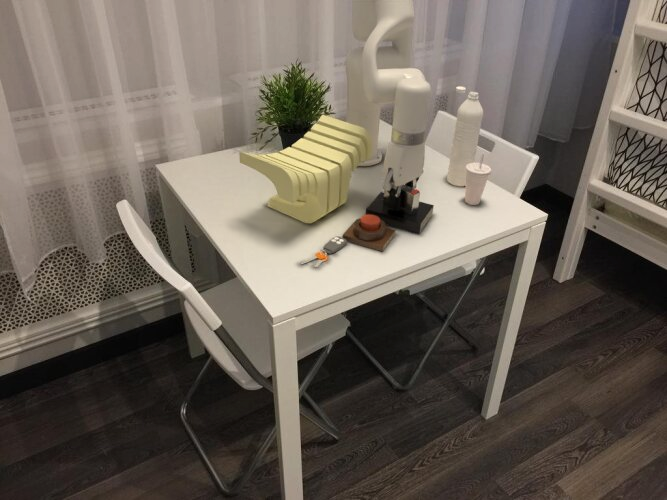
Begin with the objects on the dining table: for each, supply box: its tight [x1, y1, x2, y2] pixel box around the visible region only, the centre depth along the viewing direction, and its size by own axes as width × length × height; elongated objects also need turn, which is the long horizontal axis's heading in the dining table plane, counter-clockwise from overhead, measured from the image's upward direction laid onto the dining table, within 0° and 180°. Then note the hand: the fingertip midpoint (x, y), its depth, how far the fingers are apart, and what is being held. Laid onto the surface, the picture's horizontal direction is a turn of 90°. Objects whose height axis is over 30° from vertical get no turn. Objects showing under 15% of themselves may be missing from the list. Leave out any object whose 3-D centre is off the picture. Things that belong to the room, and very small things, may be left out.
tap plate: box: [364, 191, 435, 235], centre depth 144 cm, size 14×10×3 cm
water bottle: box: [446, 86, 484, 187], centre depth 156 cm, size 9×6×25 cm
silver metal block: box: [383, 184, 421, 215], centre depth 142 cm, size 9×2×6 cm, turn 45°
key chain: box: [300, 235, 348, 268], centre depth 130 cm, size 13×4×2 cm, turn 145°
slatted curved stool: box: [238, 114, 372, 224], centre depth 143 cm, size 30×16×18 cm, turn 142°
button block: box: [342, 217, 396, 253], centre depth 136 cm, size 10×8×4 cm
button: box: [360, 214, 380, 231], centre depth 135 cm, size 4×4×2 cm
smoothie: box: [464, 151, 492, 206], centre depth 149 cm, size 6×6×14 cm
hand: (400, 204), depth 143 cm, fingers open, 4 cm apart
